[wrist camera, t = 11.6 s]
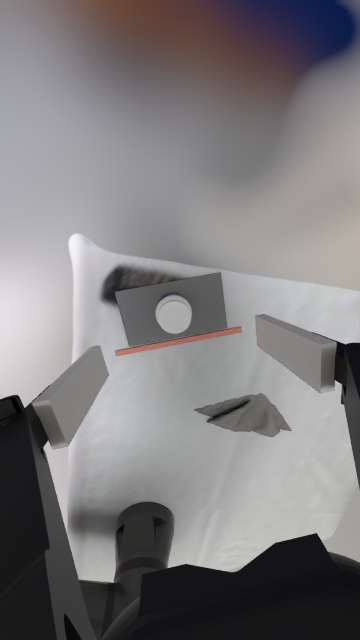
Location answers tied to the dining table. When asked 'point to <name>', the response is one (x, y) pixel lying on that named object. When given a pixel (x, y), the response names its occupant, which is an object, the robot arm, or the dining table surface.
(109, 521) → the dining table surface
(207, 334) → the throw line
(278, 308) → the dining table surface
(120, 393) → the dining table surface
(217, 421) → the cloth
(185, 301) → the pill bottle
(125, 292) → the mat
